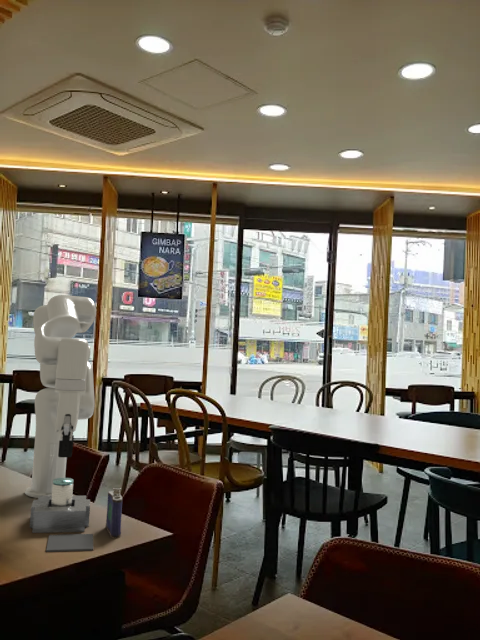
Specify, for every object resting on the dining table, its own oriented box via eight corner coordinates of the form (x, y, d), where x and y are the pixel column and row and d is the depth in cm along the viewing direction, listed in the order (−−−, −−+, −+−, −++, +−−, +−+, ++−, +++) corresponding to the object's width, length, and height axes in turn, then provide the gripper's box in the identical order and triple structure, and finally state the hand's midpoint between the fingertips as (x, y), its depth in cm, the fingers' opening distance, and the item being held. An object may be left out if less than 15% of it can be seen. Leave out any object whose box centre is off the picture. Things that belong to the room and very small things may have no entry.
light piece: (50, 520, 143) (53, 477, 144) (70, 519, 145) (73, 477, 145) (49, 526, 138) (52, 482, 139) (70, 526, 140) (73, 482, 140)
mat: (49, 536, 131) (49, 534, 131) (92, 535, 134) (93, 533, 134) (46, 551, 122) (46, 550, 122) (93, 550, 124) (93, 548, 124)
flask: (104, 526, 141) (107, 483, 142) (116, 525, 142) (119, 483, 143) (110, 538, 133) (114, 492, 133) (123, 537, 134) (126, 492, 134)
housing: (33, 515, 146) (35, 496, 147) (88, 514, 150) (89, 495, 150) (27, 532, 133) (29, 511, 133) (88, 531, 137) (90, 510, 137)
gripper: (57, 383, 151) (52, 448, 149) (53, 387, 134) (47, 459, 133) (85, 385, 153) (81, 448, 151) (85, 388, 136) (80, 460, 135)
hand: (65, 453), depth 142 cm, fingers open, 9 cm apart
